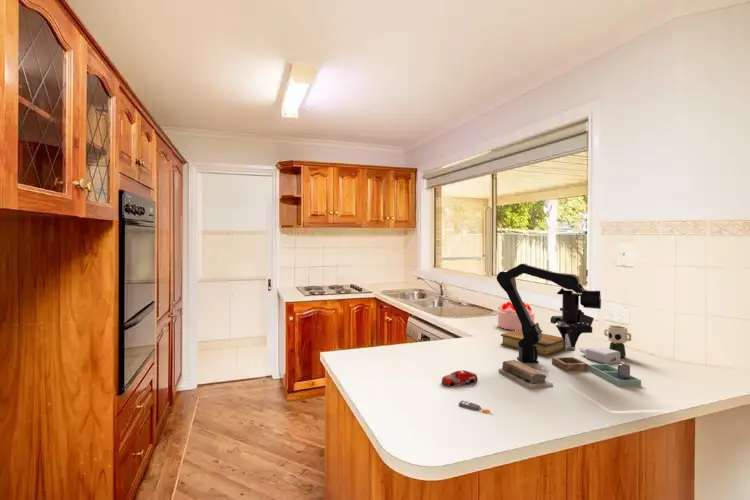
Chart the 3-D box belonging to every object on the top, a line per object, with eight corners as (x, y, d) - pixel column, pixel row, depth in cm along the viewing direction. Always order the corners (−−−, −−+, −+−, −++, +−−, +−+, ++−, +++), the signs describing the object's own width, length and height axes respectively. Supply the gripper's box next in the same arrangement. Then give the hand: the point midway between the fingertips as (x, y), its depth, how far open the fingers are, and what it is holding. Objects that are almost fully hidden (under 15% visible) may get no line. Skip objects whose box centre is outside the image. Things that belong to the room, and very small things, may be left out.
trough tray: (618, 387, 127) (619, 380, 127) (586, 370, 144) (586, 364, 144) (641, 387, 128) (641, 380, 128) (606, 370, 145) (606, 363, 145)
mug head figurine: (599, 354, 166) (600, 325, 165) (608, 352, 169) (608, 323, 169) (626, 361, 156) (627, 330, 156) (634, 358, 160) (635, 328, 160)
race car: (446, 388, 127) (446, 376, 127) (438, 382, 132) (438, 371, 132) (480, 384, 131) (480, 372, 131) (471, 378, 136) (471, 367, 136)
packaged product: (497, 360, 143) (519, 358, 146) (497, 372, 143) (519, 370, 146) (529, 376, 126) (554, 373, 129) (529, 390, 126) (553, 387, 129)
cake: (530, 333, 204) (530, 307, 204) (493, 328, 215) (493, 303, 215) (536, 326, 221) (537, 302, 220) (502, 322, 232) (502, 299, 231)
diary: (567, 350, 174) (567, 338, 174) (546, 357, 163) (546, 344, 162) (522, 339, 192) (522, 328, 192) (500, 345, 181) (500, 333, 181)
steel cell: (568, 351, 145) (568, 333, 145) (563, 348, 149) (563, 331, 149) (577, 351, 145) (577, 333, 145) (571, 348, 149) (571, 331, 149)
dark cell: (622, 385, 129) (622, 364, 129) (614, 381, 132) (615, 361, 132) (632, 384, 129) (632, 364, 129) (624, 380, 133) (624, 361, 132)
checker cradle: (564, 372, 143) (565, 363, 142) (551, 364, 152) (552, 356, 151) (587, 371, 143) (587, 363, 143) (573, 364, 152) (573, 356, 152)
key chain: (457, 407, 113) (457, 402, 113) (462, 403, 116) (462, 398, 115) (500, 420, 105) (500, 415, 105) (504, 415, 108) (504, 410, 107)
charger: (586, 352, 169) (620, 362, 155) (572, 355, 165) (605, 365, 152) (586, 342, 169) (620, 351, 155) (572, 344, 165) (606, 353, 152)
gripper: (606, 310, 138) (605, 352, 138) (575, 302, 157) (574, 339, 157) (577, 310, 137) (577, 352, 138) (550, 302, 156) (549, 339, 156)
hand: (569, 345), depth 147 cm, fingers closed on steel cell, 4 cm apart
